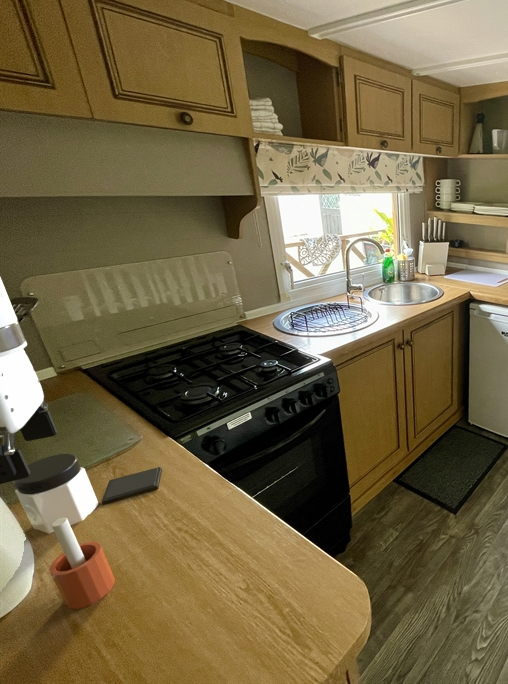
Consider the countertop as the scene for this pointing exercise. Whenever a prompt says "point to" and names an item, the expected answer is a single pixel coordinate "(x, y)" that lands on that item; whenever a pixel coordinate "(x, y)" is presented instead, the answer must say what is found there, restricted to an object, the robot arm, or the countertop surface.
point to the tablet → (132, 485)
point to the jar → (56, 492)
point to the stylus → (68, 542)
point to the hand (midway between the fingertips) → (28, 457)
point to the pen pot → (83, 577)
